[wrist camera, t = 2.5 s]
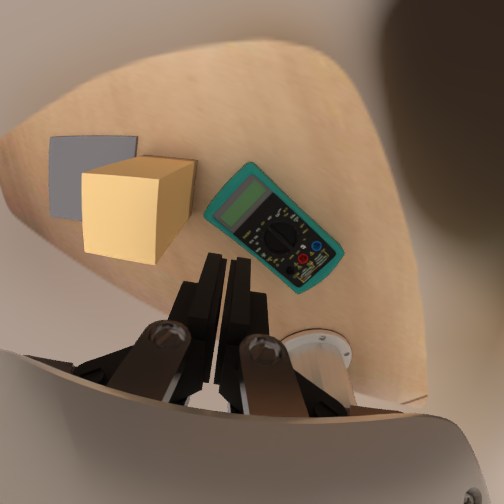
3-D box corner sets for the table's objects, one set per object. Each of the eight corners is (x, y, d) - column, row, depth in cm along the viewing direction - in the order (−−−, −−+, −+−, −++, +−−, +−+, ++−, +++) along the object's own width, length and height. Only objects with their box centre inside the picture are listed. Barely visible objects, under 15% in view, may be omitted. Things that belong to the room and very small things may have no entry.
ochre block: (191, 214, 29) (155, 265, 18) (140, 207, 29) (84, 251, 18) (197, 160, 27) (158, 179, 16) (144, 155, 26) (81, 173, 16)
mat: (132, 227, 30) (131, 228, 29) (52, 215, 29) (50, 216, 29) (137, 136, 26) (136, 136, 25) (51, 137, 25) (49, 137, 24)
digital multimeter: (299, 288, 33) (302, 301, 31) (203, 208, 29) (198, 216, 27) (343, 247, 31) (351, 258, 28) (249, 157, 27) (248, 160, 24)
